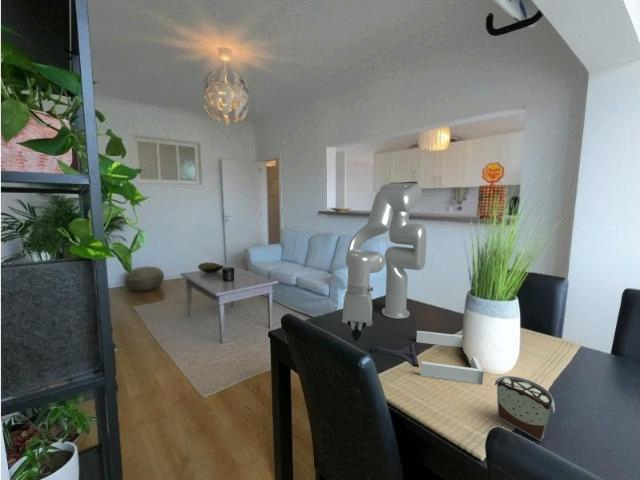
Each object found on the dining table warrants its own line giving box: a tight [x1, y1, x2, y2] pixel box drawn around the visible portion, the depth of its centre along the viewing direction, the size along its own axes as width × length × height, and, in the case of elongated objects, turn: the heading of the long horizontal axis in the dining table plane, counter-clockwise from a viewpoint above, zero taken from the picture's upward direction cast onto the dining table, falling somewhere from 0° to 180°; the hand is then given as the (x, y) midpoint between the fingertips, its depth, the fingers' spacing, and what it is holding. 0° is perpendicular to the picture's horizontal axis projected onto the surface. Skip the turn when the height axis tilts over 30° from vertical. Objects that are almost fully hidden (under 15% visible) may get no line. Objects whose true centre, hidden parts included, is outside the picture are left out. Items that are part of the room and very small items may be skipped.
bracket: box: [371, 342, 420, 368], centre depth 106 cm, size 14×15×3 cm
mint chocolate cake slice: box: [494, 375, 556, 443], centre depth 73 cm, size 12×6×10 cm, turn 35°
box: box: [416, 330, 484, 385], centre depth 102 cm, size 23×17×4 cm
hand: (356, 339), depth 109 cm, fingers closed
